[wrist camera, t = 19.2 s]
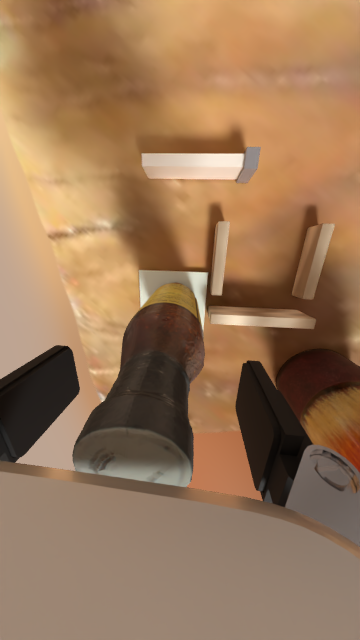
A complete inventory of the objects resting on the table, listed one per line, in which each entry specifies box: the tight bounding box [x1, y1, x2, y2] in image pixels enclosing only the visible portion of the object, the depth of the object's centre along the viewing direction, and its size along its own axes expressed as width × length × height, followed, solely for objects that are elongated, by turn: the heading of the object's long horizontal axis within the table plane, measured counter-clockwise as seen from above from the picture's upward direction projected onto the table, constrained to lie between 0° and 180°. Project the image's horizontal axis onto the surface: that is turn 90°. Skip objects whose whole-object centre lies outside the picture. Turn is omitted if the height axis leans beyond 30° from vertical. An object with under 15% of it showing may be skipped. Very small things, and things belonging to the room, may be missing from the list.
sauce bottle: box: [73, 282, 205, 487], centre depth 15 cm, size 7×6×20 cm
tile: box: [139, 270, 208, 329], centre depth 24 cm, size 9×9×1 cm
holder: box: [208, 221, 335, 329], centre depth 21 cm, size 12×11×4 cm
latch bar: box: [142, 147, 261, 183], centre depth 18 cm, size 11×2×3 cm, turn 88°
